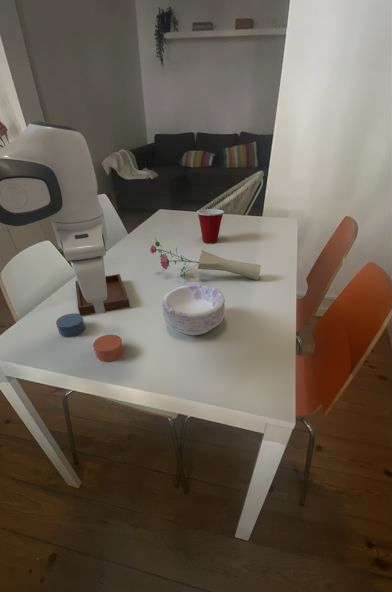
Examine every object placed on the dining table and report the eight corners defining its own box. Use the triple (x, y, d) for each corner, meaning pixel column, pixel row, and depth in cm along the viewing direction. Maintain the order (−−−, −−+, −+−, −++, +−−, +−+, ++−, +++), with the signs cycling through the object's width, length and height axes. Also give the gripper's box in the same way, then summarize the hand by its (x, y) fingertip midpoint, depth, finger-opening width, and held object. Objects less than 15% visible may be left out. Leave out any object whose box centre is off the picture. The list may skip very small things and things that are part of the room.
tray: (129, 307, 90) (128, 299, 88) (80, 316, 87) (77, 307, 85) (120, 281, 103) (119, 273, 101) (77, 288, 100) (75, 280, 98)
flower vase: (249, 304, 105) (143, 282, 101) (249, 278, 111) (151, 257, 108) (261, 278, 95) (145, 253, 92) (261, 251, 102) (153, 227, 99)
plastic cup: (223, 236, 135) (224, 206, 127) (222, 246, 126) (223, 214, 119) (198, 236, 136) (197, 206, 128) (195, 245, 127) (195, 214, 120)
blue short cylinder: (59, 339, 78) (55, 329, 76) (59, 325, 83) (56, 316, 81) (86, 334, 80) (83, 324, 78) (84, 321, 85) (81, 311, 83)
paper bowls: (153, 334, 79) (150, 306, 74) (181, 305, 90) (179, 280, 85) (210, 349, 74) (210, 320, 69) (231, 316, 85) (233, 290, 80)
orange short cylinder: (97, 364, 70) (94, 353, 69) (94, 347, 75) (92, 337, 73) (125, 358, 72) (123, 347, 70) (121, 342, 77) (119, 332, 75)
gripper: (62, 218, 64) (79, 281, 72) (63, 255, 48) (85, 329, 57) (94, 215, 65) (108, 277, 74) (105, 249, 50) (120, 322, 58)
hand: (98, 300), depth 65 cm, fingers open, 8 cm apart
